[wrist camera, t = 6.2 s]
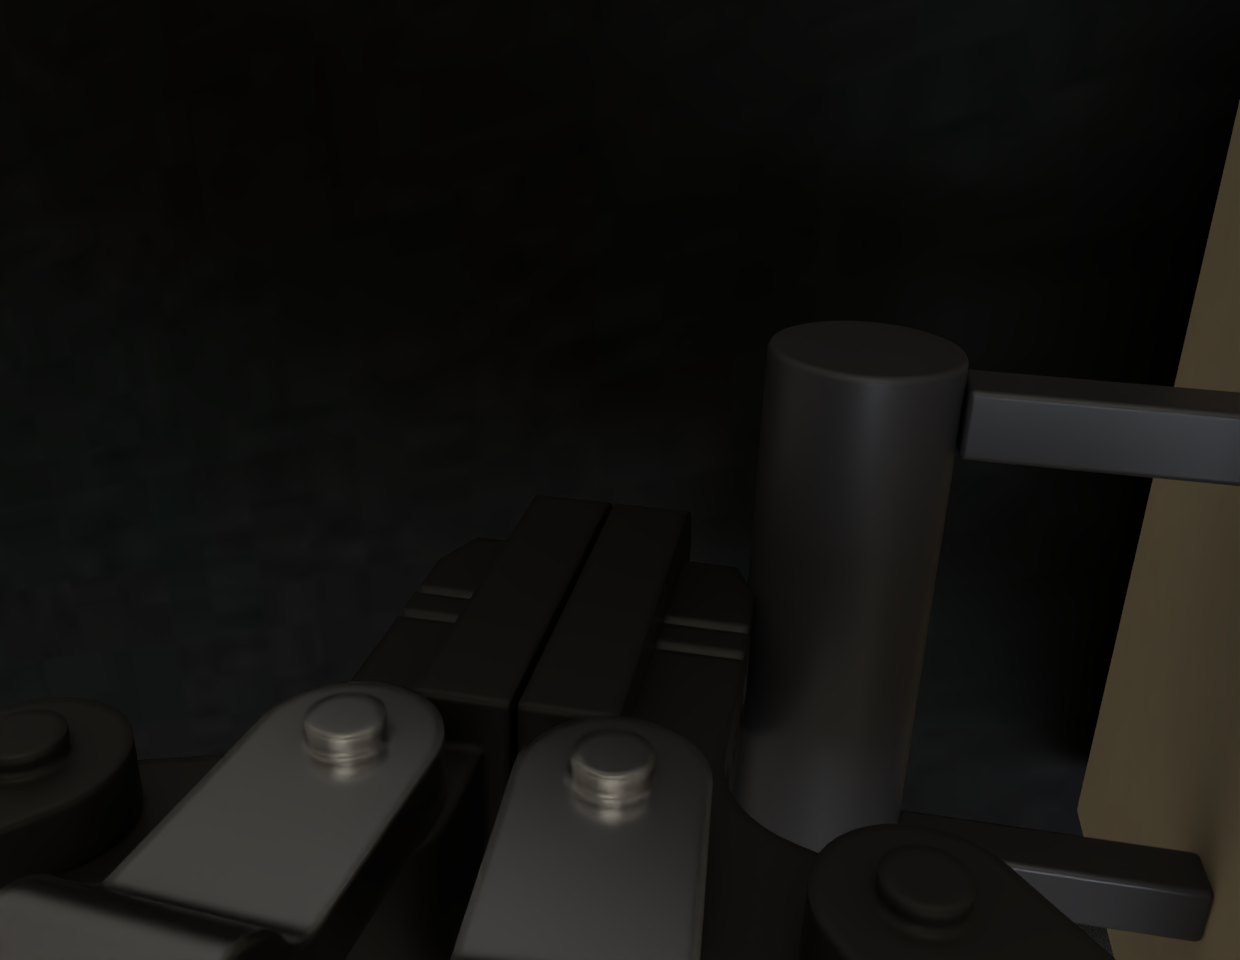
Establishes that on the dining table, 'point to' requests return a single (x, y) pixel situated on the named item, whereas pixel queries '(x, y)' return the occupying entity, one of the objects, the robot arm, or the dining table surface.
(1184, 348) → the fryer drawer
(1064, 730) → the dining table surface
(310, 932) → the robot arm
